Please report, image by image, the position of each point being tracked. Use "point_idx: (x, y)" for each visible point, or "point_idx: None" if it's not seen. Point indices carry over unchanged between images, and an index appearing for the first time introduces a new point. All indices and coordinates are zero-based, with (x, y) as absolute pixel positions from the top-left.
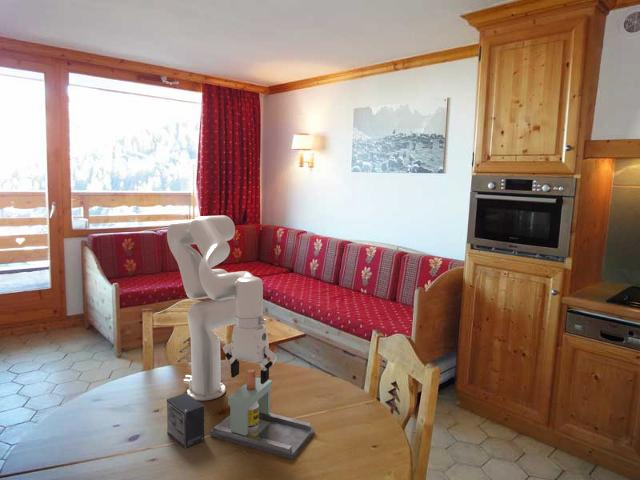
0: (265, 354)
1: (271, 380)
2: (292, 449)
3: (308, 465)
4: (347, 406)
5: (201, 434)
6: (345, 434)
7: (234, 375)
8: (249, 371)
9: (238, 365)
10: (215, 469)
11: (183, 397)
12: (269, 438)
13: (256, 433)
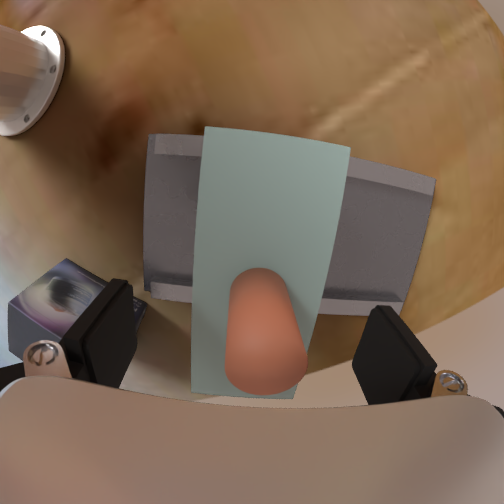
0: (472, 416)
1: (346, 150)
2: (399, 293)
3: (425, 307)
4: (459, 34)
5: (139, 321)
6: (483, 169)
7: (132, 343)
8: (251, 369)
9: (104, 330)
10: None
11: (27, 335)
12: (332, 270)
13: None
